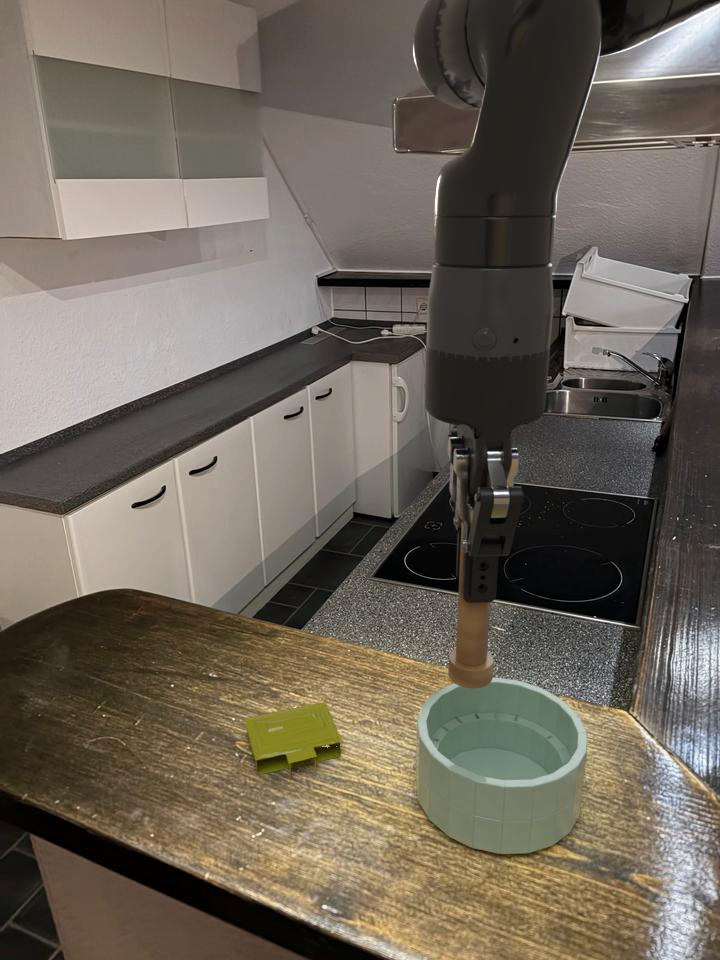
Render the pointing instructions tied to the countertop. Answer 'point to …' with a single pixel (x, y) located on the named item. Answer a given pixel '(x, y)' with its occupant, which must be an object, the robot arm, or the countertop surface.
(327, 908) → the countertop surface
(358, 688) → the countertop surface
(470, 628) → the stirring stick
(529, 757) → the bowl
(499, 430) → the robot arm
